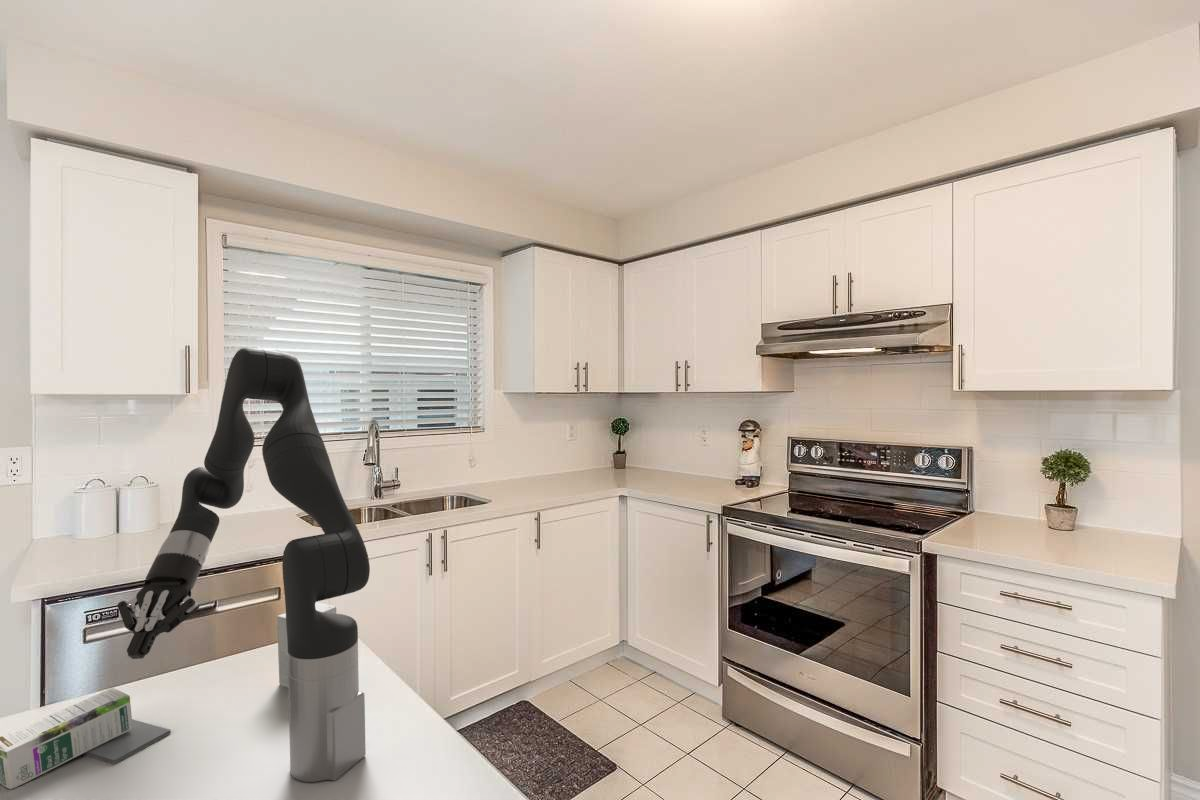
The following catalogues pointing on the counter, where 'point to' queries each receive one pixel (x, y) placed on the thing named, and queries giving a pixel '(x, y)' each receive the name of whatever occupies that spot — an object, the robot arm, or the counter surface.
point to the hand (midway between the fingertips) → (135, 657)
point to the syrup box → (63, 736)
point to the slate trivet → (128, 742)
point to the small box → (284, 643)
